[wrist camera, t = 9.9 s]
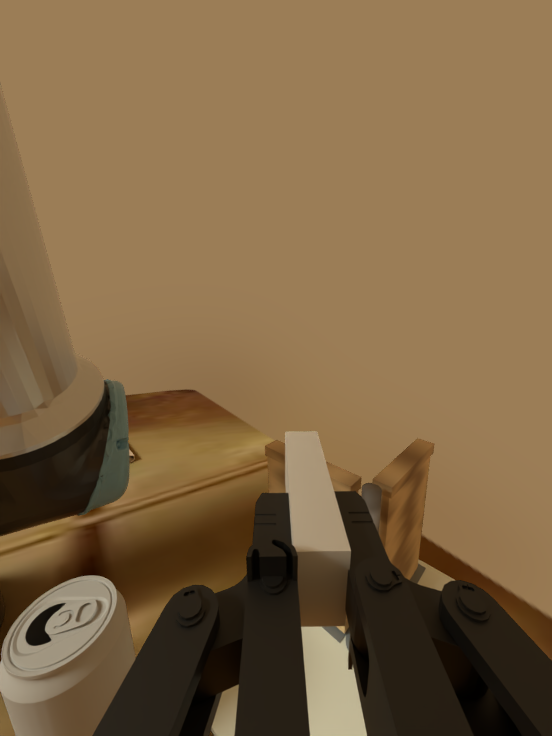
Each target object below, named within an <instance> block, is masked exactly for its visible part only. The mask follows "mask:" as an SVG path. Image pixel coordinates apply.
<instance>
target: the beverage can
mask: <svg viewBox="0 0 552 736" xmlns="http://www.w3.org/2000/svg"><path fill="white" fill-rule="evenodd" d="M1 658H2V660H1V662H0V691H1V694H2V697H3V700H4V703H5V705H6V708H7V711H8V714H9V717H10V720H11V723H12V726H13V729H14V731H15V734H16V736H92V735H93V733H94V732H95V730H96V728H97V726H98V725H99V723H100V721H101V719H102V718H103V716H104V714H105V712H106V710H107V709H108V707H109V705H110V703H111V702H112V700H113V698H114V696H115V695H116V693H117V691H118V689H119V687H120V686H121V684H122V682H123V680H124V679H125V677H126V675H127V673H128V672H129V670H130V668H131V666H132V664H133V663H134V661H135V659H136V657H135V651H134V646H133V640H132V635H131V630H130V624H129V619H128V613H127V608H126V603H125V600H124V598H123V596H122V594H121V593H120V592H119V591H118V590H116V588H115V586H114V585H113V583H112V582H111V581H110V580H108V579H107V578H104V577H101V576H95V575H90V576H82V577H78V578H74V579H71V580H68V581H66V582H64V583H61V584H59V585H57V586H56V587H54V588H52V589H50V590H49V591H47V592H46V593H44V594H43V595H41V596H40V597H39V598H38V599H36V600H35V601H34V602H33V603H32V604H31V605H30V606H29V607H28V608H27V609H25V610H24V611H23V613H22V614H21V615H20V616H19V617H18V618H17V620H16V621H15V622H14V624H13V625H12V627H11V628H10V630H9V632H8V633H7V636H6V638H5V640H4V643H3V646H2V651H1Z"/></svg>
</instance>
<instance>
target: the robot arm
mask: <svg viewBox="0 0 552 736" xmlns="http://www.w3.org/2000/svg"><path fill="white" fill-rule="evenodd" d="M128 481H129V444H128V415H127V404H126V396H125V391H124V387H123V385H122V384H121V383H120V382H118V381H111V380H108V379H107V380H103V376H102V374H101V372H100V370H99V368H98V367H97V366H96V365H95V364H94V363H93V362H92V361H90V360H89V359H87V358H85V357H83V356H81V355H79V354H76V353H75V352H74V349H73V345H72V342H71V338H70V334H69V331H68V327H67V323H66V320H65V316H64V312H63V309H62V305H61V302H60V298H59V295H58V291H57V287H56V283H55V280H54V276H53V273H52V269H51V265H50V262H49V258H48V254H47V251H46V247H45V244H44V240H43V236H42V233H41V229H40V226H39V222H38V218H37V215H36V211H35V207H34V204H33V200H32V197H31V193H30V190H29V186H28V182H27V178H26V175H25V171H24V167H23V164H22V160H21V157H20V153H19V149H18V146H17V142H16V138H15V135H14V131H13V128H12V124H11V120H10V117H9V113H8V109H7V106H6V102H5V98H4V95H3V91H2V88H1V84H0V536H3V535H7V534H10V533H14V532H17V531H21V530H24V529H27V528H31V527H34V526H38V525H41V524H45V523H49V522H52V521H56V520H59V519H63V518H67V517H70V516H74V515H84V514H86V513H88V512H89V511H90V510H92V509H95V508H98V507H101V506H104V505H107V504H109V503H112V502H115V501H116V500H118V499H119V498H120V497H121V496H122V495H123V494H124V492H125V491H126V489H127V486H128ZM285 487H286V493H262V494H261V496H260V497H259V499H258V500H257V502H256V507H255V520H254V532H253V545H252V546H251V547H250V548H249V550H248V553H247V556H246V560H247V575H246V576H245V577H244V578H243V579H242V581H240V582H239V583H238V584H236V585H235V586H233V587H231V588H229V589H226V590H223V591H220V592H217V593H214V592H213V591H212V590H211V589H210V588H208V587H206V586H204V585H192V586H189V587H186V588H183V589H182V590H180V591H179V592H177V593H176V594H175V595H173V597H172V598H171V599H170V601H169V602H168V603H167V604H166V606H165V608H164V610H163V611H162V613H161V615H160V617H159V618H158V620H157V622H156V624H155V626H154V627H153V629H152V631H151V633H150V634H149V636H148V638H147V640H146V641H145V643H144V645H143V647H142V649H141V650H140V652H139V654H138V656H137V657H136V659H135V661H134V663H133V664H132V666H131V668H130V670H129V672H128V673H127V675H126V677H125V679H124V680H123V682H122V684H121V686H120V687H119V689H118V691H117V693H116V695H115V696H114V698H113V700H112V702H111V703H110V705H109V707H108V709H107V710H106V712H105V714H104V716H103V718H102V719H101V721H100V723H99V725H98V726H97V728H96V730H95V732H94V733H93V735H92V736H209V734H210V731H211V727H212V724H213V721H214V718H215V715H216V711H217V708H218V705H219V702H220V698H221V695H222V692H223V691H225V690H228V689H230V688H232V687H234V686H236V685H238V684H239V688H238V700H237V711H236V723H235V735H234V736H310V729H309V716H308V704H307V692H306V679H305V667H304V655H303V642H302V630H301V627H326V626H345V624H346V615H347V620H348V624H349V629H350V640H349V652H348V670H352V667H353V668H354V673H355V678H356V683H357V688H358V693H359V698H360V703H361V708H362V713H363V718H364V723H365V728H366V733H367V736H552V661H551V660H550V659H549V658H548V657H547V655H546V654H545V653H544V652H543V651H542V650H541V649H540V648H539V647H538V646H537V645H536V644H535V643H534V641H533V640H532V639H531V638H530V637H529V636H528V635H527V634H526V633H525V632H524V631H523V630H522V629H521V627H520V626H519V625H518V624H517V623H516V622H515V621H514V620H513V619H512V618H511V617H510V616H509V615H508V614H507V612H506V611H505V610H504V609H503V608H502V607H501V606H500V605H499V604H498V603H497V602H496V601H495V600H494V599H493V598H492V597H491V596H490V595H489V594H488V593H486V592H485V591H484V590H483V589H481V588H479V587H477V586H476V585H474V584H472V583H468V582H465V581H461V580H457V581H450V582H448V583H446V584H445V585H444V587H443V589H442V591H439V590H436V589H432V588H429V587H425V586H422V585H419V584H416V583H414V582H412V581H410V580H408V579H407V578H405V577H404V576H403V574H402V573H401V571H400V570H399V569H398V568H396V567H395V566H394V565H393V564H392V563H391V562H390V560H389V558H388V556H387V553H386V551H385V548H384V546H383V543H382V541H381V539H380V536H379V534H378V531H377V529H376V526H375V524H374V523H373V519H372V517H371V514H370V513H369V509H368V507H367V504H366V502H365V500H364V499H363V498H362V497H361V496H360V495H359V494H358V493H357V492H356V491H334V489H333V486H332V482H331V479H330V475H329V472H328V468H327V464H326V461H325V457H324V454H323V450H322V447H321V443H320V440H319V437H318V433H317V431H308V432H307V431H306V432H285ZM4 611H5V605H4V600H3V597H2V594H1V591H0V627H1V624H2V621H3V618H4Z"/></svg>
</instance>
